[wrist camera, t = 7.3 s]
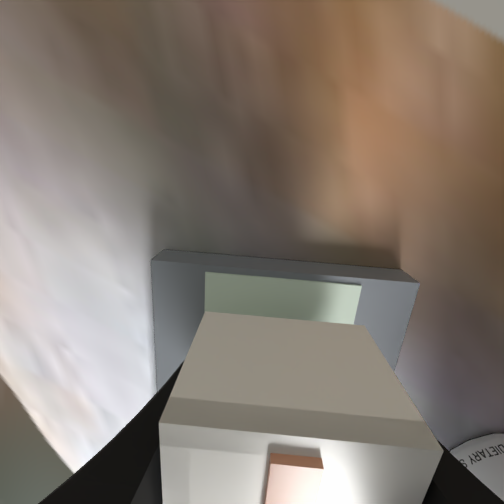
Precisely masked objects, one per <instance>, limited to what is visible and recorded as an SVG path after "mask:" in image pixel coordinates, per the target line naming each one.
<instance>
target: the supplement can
mask: <svg viewBox="0 0 504 504" xmlns="http://www.w3.org/2000/svg"><path fill="white" fill-rule="evenodd" d="M450 453H451V454H452V455H453V456H454V457H455V458H456V459H457V460H459V461H460V462H461V463H462V464H463V465H464V466H465V467H466V468H467V469H468V470H469V471H470V472H471V473H472V474H474V475H475V476H476V477H477V478H478V479H479V480H480V481H481V482H482V483H483V484H485V485H486V486H487V487H488V488H489V489H490V490H491V491H492V492H494V493H495V494H496V495H497V496H498V497H499V498H500V499H502V500H503V501H504V433H502V434H490V435H486V436H483V437H479V438H475V439H471V440H469V441H467V442H465V443H463V444H461V445H460V446H458V447H456V448H454V449H452V450H451V451H450Z"/></svg>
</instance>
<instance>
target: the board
mask: <svg viewBox="0 0 504 504" xmlns="http://www.w3.org/2000/svg"><path fill="white" fill-rule="evenodd" d="M151 277H152V297H153V317H154V338H155V358H156V378H157V392H158V391H159V390H160V389H161V387H162V386H163V385H164V384H165V383H166V382H167V380H168V379H169V378H170V377H171V376H172V374H173V373H174V372H175V371H176V369H177V368H178V367H179V366H180V364H181V363H182V362H183V361H185V358H186V356H187V354H188V351H189V349H190V347H191V344H192V342H193V339H194V337H195V335H196V332H197V330H198V327H199V325H200V323H201V320H202V318H203V315H204V313H205V311H207V312H218V313H230V314H241V315H252V316H263V317H275V318H286V319H297V320H308V321H319V322H331V323H342V324H353V325H364V326H365V327H366V329H367V331H368V332H369V334H370V335H371V337H372V338H373V340H374V342H375V343H376V345H377V346H378V348H379V349H380V351H381V353H382V354H383V356H384V357H385V359H386V361H387V362H388V364H389V365H390V367H391V368H392V370H393V372H394V370H395V367H396V363H397V360H398V356H399V353H400V350H401V346H402V343H403V339H404V336H405V333H406V329H407V326H408V323H409V319H410V316H411V312H412V309H413V306H414V302H415V299H416V295H417V292H418V289H419V285H420V283H419V282H418V281H416V280H415V279H414V278H412V277H411V276H410V275H408V274H407V273H406V272H404V271H403V270H400V269H389V268H377V267H365V266H353V265H341V264H329V263H318V262H306V261H294V260H282V259H270V258H259V257H247V256H235V255H223V254H211V253H199V252H188V251H176V250H163V251H162V252H160V253H159V254H158V255H157V256H155V257H154V258H153V259H152V260H151Z"/></svg>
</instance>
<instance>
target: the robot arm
mask: <svg viewBox="0 0 504 504" xmlns="http://www.w3.org/2000/svg"><path fill="white" fill-rule="evenodd" d="M183 363H184V361H183V362H182V363H181V364H180V366H179V367H178V368H177V369H176V371H175V372H174V373H173V374H172V376H171V377H170V378H169V379H168V380H167V382H166V383H165V384H164V385H163V386H162V387H161V389H160V390H159V391H158V392H157V393H156V394H155V395H154V396H153V398H152V399H151V400H150V401H149V402H148V403H147V404H146V405H145V406H144V408H143V409H142V410H141V411H140V412H139V413H138V414H137V415H136V416H135V417H134V418H133V419H132V420H131V421H130V422H129V423H128V424H127V425H126V426H125V427H124V428H123V429H122V430H121V431H120V432H119V433H118V434H117V435H116V436H115V437H114V438H113V439H112V440H111V441H110V442H109V443H108V444H107V445H106V446H105V447H104V448H102V449H101V450H100V451H99V452H98V453H97V454H96V455H95V456H94V457H93V458H92V459H90V460H89V461H88V462H87V463H86V464H85V465H84V466H83V467H81V468H80V469H79V470H78V471H77V472H76V473H75V474H73V475H72V476H71V477H70V478H69V479H67V480H66V481H65V482H64V483H63V484H61V485H60V486H59V487H58V488H57V489H55V490H54V491H53V492H52V493H51V494H49V495H48V496H47V497H46V498H45V499H43V500H42V501H41V502H40V503H38V504H163V499H162V479H161V459H160V440H159V421H160V418H161V416H162V413H163V411H164V409H165V406H166V404H167V401H168V399H169V397H170V394H171V392H172V390H173V387H174V385H175V382H176V380H177V378H178V375H179V373H180V370H181V368H182V366H183ZM436 440H437V439H436ZM437 441H438V440H437ZM438 443H439V444H440V446H441V447H442V449H443V451H444V452H443V454H442V456H441V459H440V461H439V463H438V466H437V468H436V471H435V473H434V475H433V478H432V480H431V483H430V485H429V487H428V490H427V492H426V495H425V497H424V499H423V502H422V504H504V501H503V500H502V499H500V498H499V497H498V496H497V495H496V494H495V493H494V492H492V491H491V490H490V489H489V488H488V487H487V486H486V485H485V484H483V483H482V482H481V481H480V480H479V479H478V478H477V477H476V476H475V475H474V474H472V473H471V472H470V471H469V470H468V469H467V468H466V467H465V466H464V465H463V464H462V463H461V462H460V461H459V460H457V459H456V458H455V457H454V456H453V455H452V454H451V453H450V452H449V451H448V450H447V449H446V448H445V447H444V446H443V445H442V444H441V443H440V442H439V441H438Z"/></svg>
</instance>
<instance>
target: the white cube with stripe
mask: <svg viewBox="0 0 504 504" xmlns="http://www.w3.org/2000/svg"><path fill="white" fill-rule="evenodd" d="M159 440H160V459H161V479H162V499H163V504H422V502H423V499H424V497H425V495H426V492H427V490H428V487H429V485H430V483H431V480H432V478H433V475H434V473H435V471H436V468H437V466H438V463H439V461H440V459H441V456H442V454H443V452H444V451H443V449H442V447H441V446H440V444H439V443H438V441H437V440H436V438H435V436H434V435H433V433H432V432H431V430H430V429H429V427H428V425H427V424H426V422H425V421H424V419H423V417H422V416H421V414H420V413H419V411H418V410H417V408H416V406H415V405H414V403H413V402H412V400H411V398H410V397H409V395H408V394H407V392H406V391H405V389H404V387H403V386H402V384H401V383H400V381H399V380H398V378H397V376H396V375H395V373H394V372H393V370H392V368H391V367H390V365H389V364H388V362H387V361H386V359H385V357H384V356H383V354H382V353H381V351H380V349H379V348H378V346H377V345H376V343H375V342H374V340H373V338H372V337H371V335H370V334H369V332H368V331H367V329H366V327H365V326H364V325H353V324H342V323H331V322H319V321H308V320H297V319H286V318H275V317H263V316H252V315H241V314H230V313H218V312H207V311H205V313H204V315H203V318H202V320H201V323H200V325H199V327H198V330H197V332H196V335H195V337H194V339H193V342H192V344H191V347H190V349H189V351H188V354H187V356H186V358H185V361H184V363H183V366H182V368H181V370H180V373H179V375H178V378H177V380H176V382H175V385H174V387H173V390H172V392H171V394H170V397H169V399H168V401H167V404H166V406H165V409H164V411H163V413H162V416H161V418H160V421H159Z"/></svg>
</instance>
